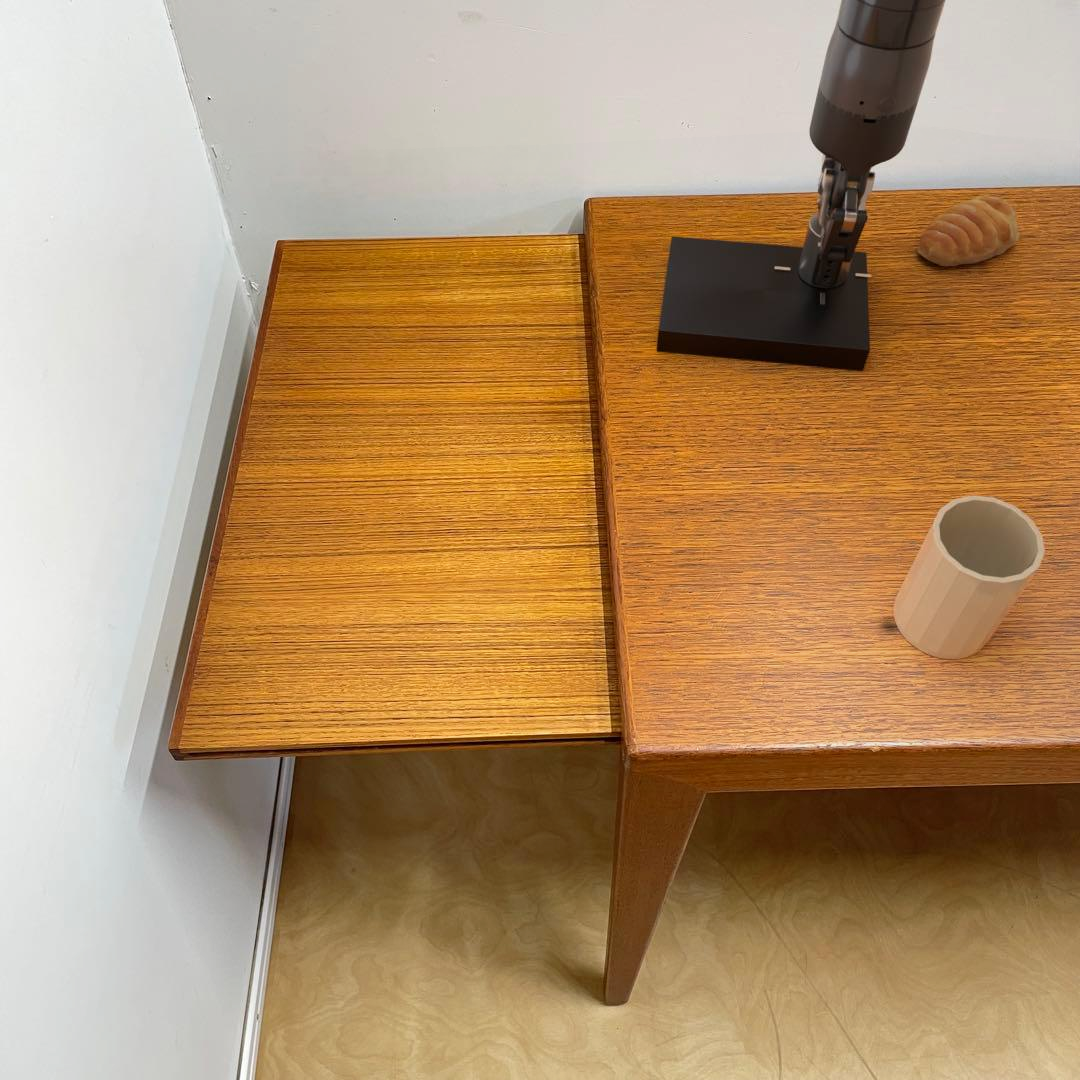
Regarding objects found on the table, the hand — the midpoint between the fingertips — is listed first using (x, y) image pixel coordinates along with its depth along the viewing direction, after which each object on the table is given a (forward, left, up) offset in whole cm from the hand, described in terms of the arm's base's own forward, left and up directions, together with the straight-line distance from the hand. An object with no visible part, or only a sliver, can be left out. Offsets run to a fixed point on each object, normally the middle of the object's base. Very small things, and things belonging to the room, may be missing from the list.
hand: (822, 264), depth 89 cm
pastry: (-14, -9, -4) cm, 17 cm away
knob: (0, 0, -1) cm, 1 cm away
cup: (-9, +34, -4) cm, 35 cm away
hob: (+5, +3, -3) cm, 7 cm away
